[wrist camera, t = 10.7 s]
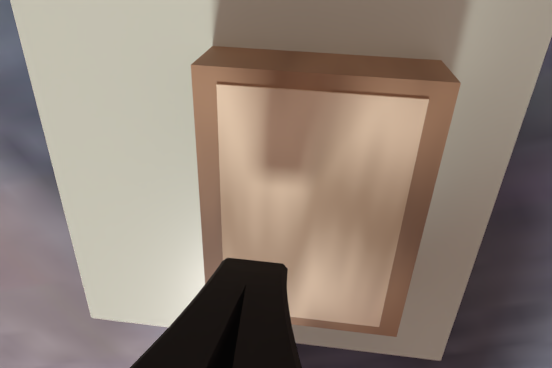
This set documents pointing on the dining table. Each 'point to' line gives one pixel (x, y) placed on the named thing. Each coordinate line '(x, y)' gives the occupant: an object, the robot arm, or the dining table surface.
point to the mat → (182, 143)
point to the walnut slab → (321, 173)
